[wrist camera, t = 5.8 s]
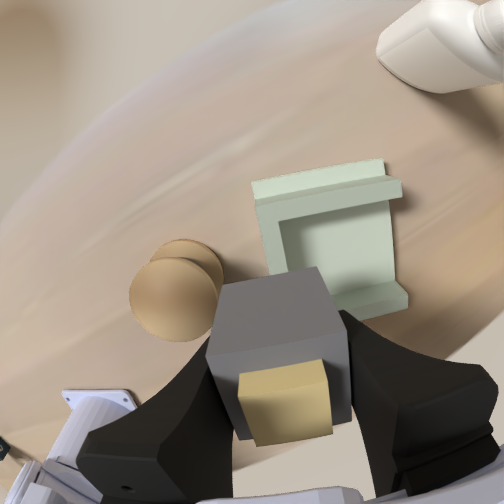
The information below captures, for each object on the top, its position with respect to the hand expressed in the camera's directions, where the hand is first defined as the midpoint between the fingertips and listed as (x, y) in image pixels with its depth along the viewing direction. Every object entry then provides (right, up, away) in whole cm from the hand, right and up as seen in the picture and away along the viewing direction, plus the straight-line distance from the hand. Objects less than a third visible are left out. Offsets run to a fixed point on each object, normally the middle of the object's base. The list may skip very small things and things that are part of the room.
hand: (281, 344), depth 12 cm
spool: (-5, +2, +9) cm, 11 cm away
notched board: (+4, +4, +8) cm, 10 cm away
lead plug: (0, +1, +2) cm, 2 cm away
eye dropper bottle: (+9, +16, +4) cm, 19 cm away
